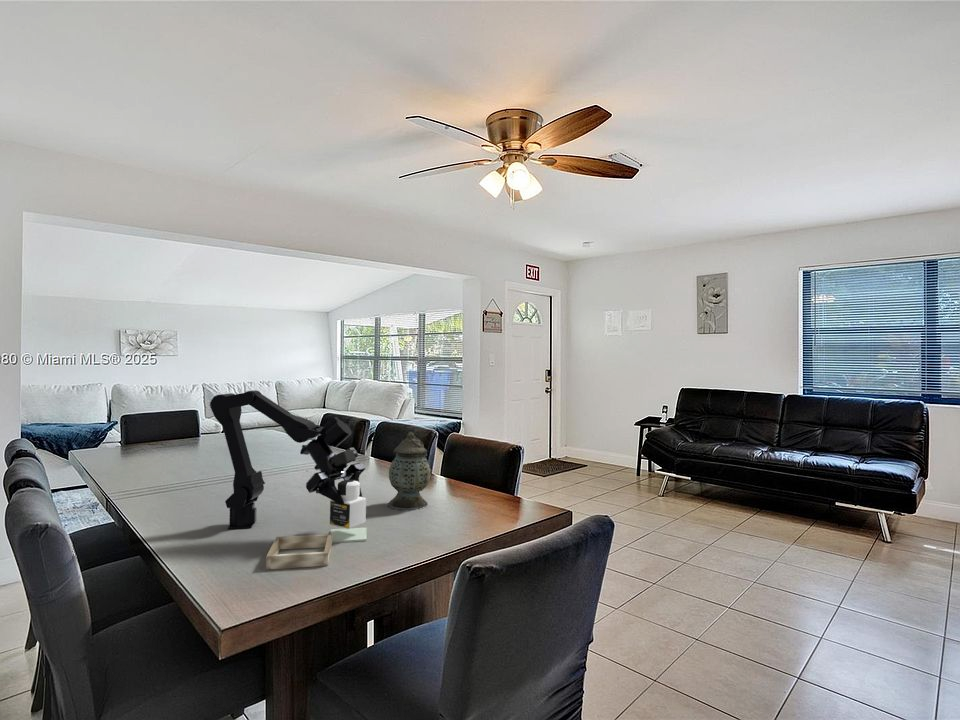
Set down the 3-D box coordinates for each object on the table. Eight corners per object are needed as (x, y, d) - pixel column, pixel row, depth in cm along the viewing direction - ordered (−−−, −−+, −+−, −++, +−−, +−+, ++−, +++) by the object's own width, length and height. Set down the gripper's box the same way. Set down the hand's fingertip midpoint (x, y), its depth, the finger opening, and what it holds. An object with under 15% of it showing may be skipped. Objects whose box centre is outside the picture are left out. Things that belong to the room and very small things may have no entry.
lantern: (409, 497, 191) (410, 427, 191) (438, 504, 182) (439, 431, 182) (379, 505, 180) (380, 431, 180) (408, 513, 171) (409, 436, 171)
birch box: (266, 569, 125) (266, 556, 125) (276, 548, 138) (276, 536, 138) (327, 565, 128) (328, 553, 128) (331, 545, 141) (332, 534, 141)
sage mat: (328, 542, 143) (328, 541, 143) (331, 530, 153) (331, 529, 153) (366, 540, 145) (366, 539, 145) (366, 529, 155) (366, 527, 155)
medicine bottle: (329, 525, 147) (330, 481, 147) (346, 518, 154) (347, 477, 154) (348, 529, 144) (350, 485, 144) (366, 522, 150) (367, 480, 150)
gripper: (314, 443, 142) (345, 490, 137) (361, 435, 159) (389, 477, 154) (293, 469, 146) (321, 515, 141) (340, 458, 163) (367, 500, 158)
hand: (352, 501), depth 148 cm, fingers closed on medicine bottle, 7 cm apart
